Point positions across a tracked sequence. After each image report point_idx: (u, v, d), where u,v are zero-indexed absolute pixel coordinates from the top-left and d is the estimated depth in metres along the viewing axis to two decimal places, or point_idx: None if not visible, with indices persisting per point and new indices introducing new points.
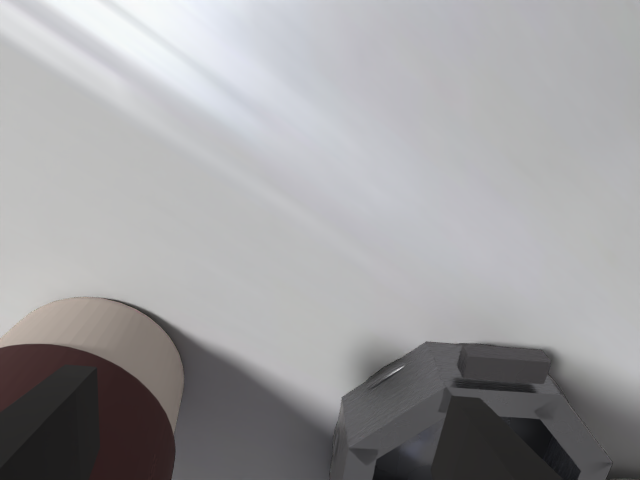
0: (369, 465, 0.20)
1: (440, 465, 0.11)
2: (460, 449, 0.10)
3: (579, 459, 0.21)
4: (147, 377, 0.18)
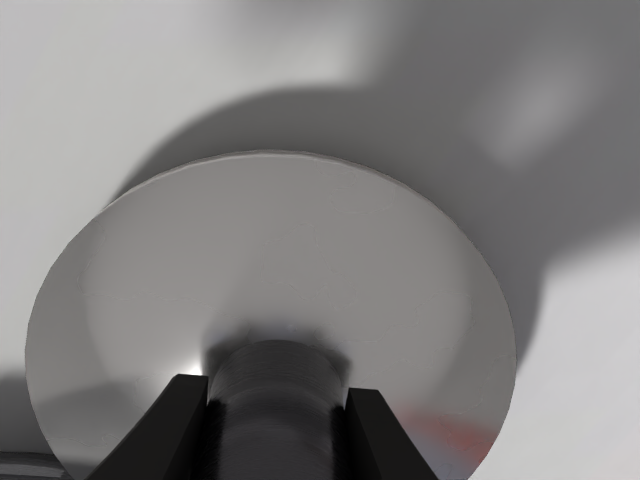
0: None
1: None
2: (350, 441, 0.09)
3: None
4: None
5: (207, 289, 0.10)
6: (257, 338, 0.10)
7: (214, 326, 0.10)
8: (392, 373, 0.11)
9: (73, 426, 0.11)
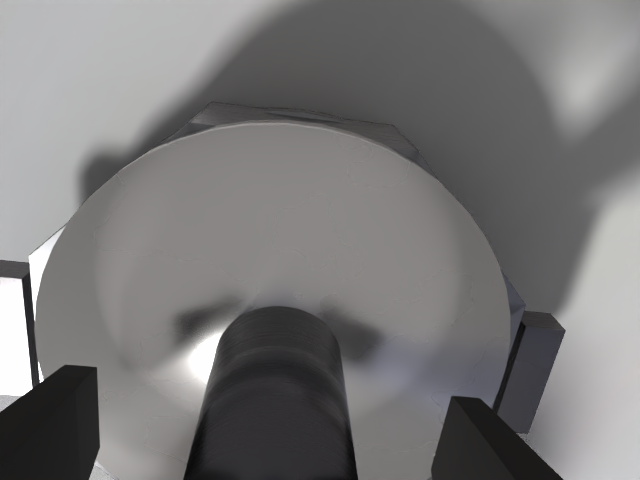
0: None
1: (440, 465, 0.11)
2: (460, 449, 0.10)
3: None
4: None
5: (220, 252, 0.10)
6: (264, 303, 0.11)
7: (223, 289, 0.11)
8: (391, 347, 0.11)
9: None
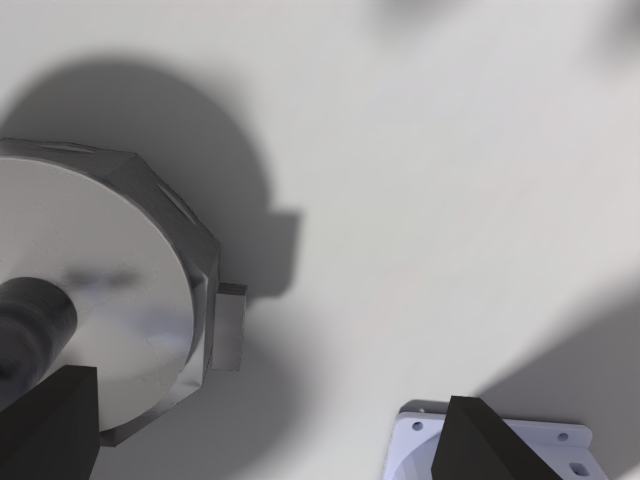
0: None
1: (440, 465, 0.11)
2: (460, 449, 0.10)
3: None
4: None
5: None
6: (15, 275, 0.16)
7: None
8: (109, 305, 0.17)
9: None
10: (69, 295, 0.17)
